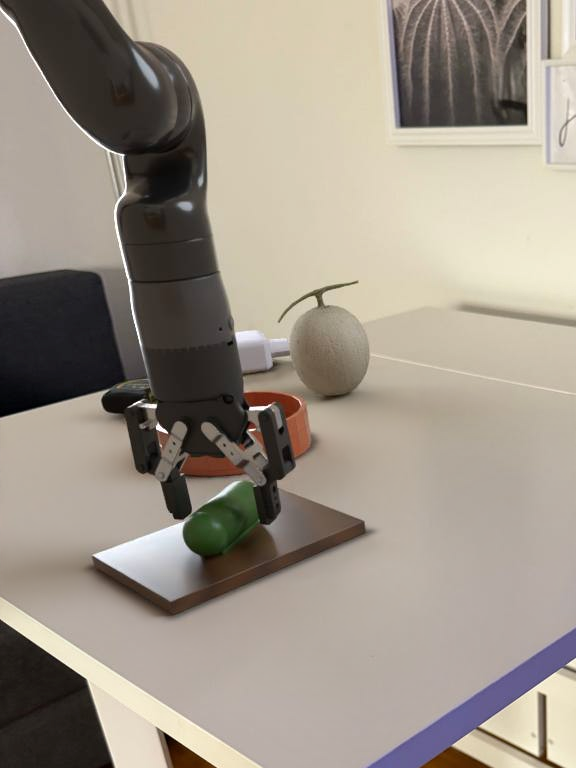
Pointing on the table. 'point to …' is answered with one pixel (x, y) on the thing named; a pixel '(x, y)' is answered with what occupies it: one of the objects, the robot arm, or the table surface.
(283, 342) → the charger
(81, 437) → the table surface
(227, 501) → the cucumber
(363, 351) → the fruit
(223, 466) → the bowl
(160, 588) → the board
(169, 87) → the robot arm
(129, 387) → the tape measure
